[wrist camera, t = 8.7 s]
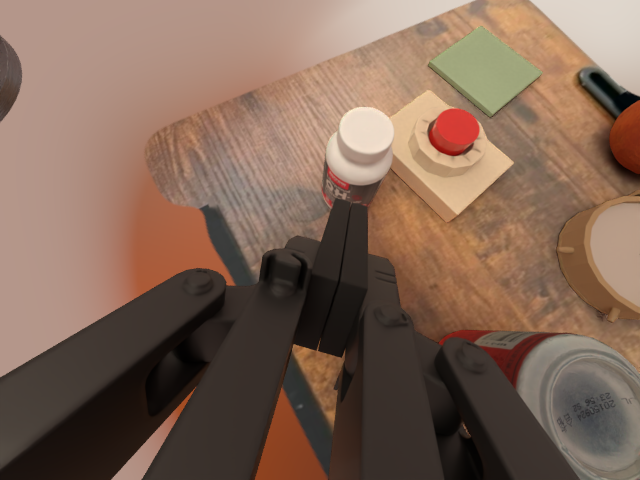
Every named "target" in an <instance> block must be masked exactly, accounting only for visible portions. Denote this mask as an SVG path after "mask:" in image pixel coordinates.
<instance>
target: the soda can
mask: <svg viewBox="0 0 640 480" xmlns="http://www.w3.org/2000/svg"><path fill="white" fill-rule="evenodd" d="M451 337H459V338H463V339H467V340H469V341H471V342H473V343H475V344H477V345H478V346H479V347H481V348H482V349H483V350H485V351H486V352H487V353H488V354H489V355H490V356H491V357H492V358H493V360H494V361H495V362H496V363H497V365H498V366H499V367H500V369H501V370H502V372H503V373H504V374H505V376H506V377H507V379H508V380H509V381H510V383H511V384H512V386H513V387H514V388H515V390H516V391H517V392H518V394H519V395H520V397H521V398H522V399H523V401H524V402H525V404H526V405H527V406H528V408H529V409H530V410H531V412H532V413H533V415H534V416H535V417H536V419H537V420H538V422H539V423H540V424H541V426H542V427H543V429H544V430H545V431H546V433H547V434H548V435H549V437H550V438H551V440H552V441H553V442H554V444H555V445H556V447H557V448H558V449H559V451H560V452H561V453H562V455H563V456H564V458H565V459H566V460H567V462H568V463H569V465H570V466H571V467H572V469H573V470H574V472H575V473H576V474H577V476H578V477H579V478H580V480H640V374H639V373H638V371H637V370H636V369H635V367H634V366H633V365H632V364H631V363H630V362H629V361H628V360H627V359H625V358H624V357H623V356H622V355H621V354H619V353H618V352H617V351H615V350H614V349H612V348H611V347H609V346H608V345H606V344H604V343H602V342H600V341H598V340H596V339H594V338H591V337H587V336H583V335H578V334H571V333H549V332H519V331H480V330H460V331H457V332H453V333H451V334H449V335H447V336H445V337H444V338H443V339H442V340H441V341H440V342H439V343H438V344H440V345H443V343H444V341H446V340H447V339H448V338H451Z"/></svg>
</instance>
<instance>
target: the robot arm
mask: <svg viewBox="0 0 640 480" xmlns="http://www.w3.org/2000/svg"><path fill="white" fill-rule="evenodd" d="M350 204H351V202H349V201H346V200H342V199H338V198H335V200H334V204H333V207H332V210H331V213H330V216H329V219H328V222H327V225H326V228H325V231H324V234H323V237H322V240H321V242H320V241H316V240H313V239H309V238H305V237H301V236H298V235H297V236H295V237H293V238H291V239H290V240H289V241H288V242H287V244H286V246H285V248H284V249H273V250H270V251H267V252H266V253H265V254H264V255H263V256H262V263H261V270H260V277H259V282H258V283H257V284H255V285H251V286H226V281H225V279H224V277H223V276H222V275H221V274H219V273H218V272H216V271H213V270H210V269H202V268H196V269H190V270H186V271H183V272H181V273H179V274H176V275H175V276H173V277H171V278H170V279H168V280H166V281H165V282H163V283H161V284H159V285H158V286H156V287H154V288H152V289H151V290H149V291H147V292H146V293H144V294H142V295H141V296H139V297H137V298H135V299H134V300H132V301H130V302H129V303H127V304H125V305H124V306H122V307H120V308H118V309H117V310H115V311H113V312H111V313H110V314H108V315H107V316H105V317H103V318H101V319H99V320H98V321H96V322H95V323H93V324H91V325H89V326H88V327H86V328H84V329H82V330H81V331H79V332H77V333H76V334H74V335H72V336H70V337H69V338H67V339H65V340H64V341H62V342H60V343H58V344H57V345H55V346H53V347H52V348H50V349H48V350H47V351H45V352H43V353H41V354H40V355H38V356H36V357H35V358H33V359H31V360H29V361H28V362H26V363H25V364H23V365H21V366H19V367H18V368H16V369H14V370H12V371H11V372H9V373H7V374H6V375H4V376H2V377H0V480H111V479H112V478H113V477H114V476H115V475H116V474H117V472H118V471H119V470H120V469H121V468H122V467H123V466H124V465H125V464H126V462H127V461H128V460H129V459H130V458H131V457H132V456H133V455H134V454H135V453H136V452H137V450H138V449H139V448H140V447H141V446H142V445H143V444H144V443H145V442H146V441H147V439H149V437H150V436H151V435H152V434H153V433H154V432H155V431H156V430H157V429H158V427H160V425H161V424H162V423H163V422H164V421H165V420H166V419H167V418H168V417H169V416H170V415H171V413H172V412H173V411H174V410H175V409H176V408H177V407H178V406H179V405H180V404H181V402H182V401H183V400H184V399H185V398H186V397H187V396H188V395H189V394H190V393H191V392H192V391H193V389H194V388H195V387H196V386H197V387H196V389H195V390H194V392H193V394H192V395H191V398H190V399H189V400H188V402H187V404H186V406H185V408H184V409H183V411H182V412H181V414H180V416H179V417H178V419H177V421H176V423H175V424H174V426H173V428H172V429H171V431H170V433H169V434H168V436H167V438H166V439H165V442H164V443H163V445H162V446H161V448H160V450H159V451H158V453H157V455H156V456H155V458H154V460H153V462H152V463H151V465H150V467H149V468H148V470H147V472H146V473H145V475H144V477H143V479H142V480H255V476H256V473H257V470H258V466H259V463H260V459H261V456H262V452H263V449H264V446H265V442H266V439H267V435H268V432H269V428H270V425H271V422H272V418H273V415H274V411H275V408H276V404H277V401H278V398H279V394H280V391H281V387H282V384H283V380H284V377H285V374H286V370H287V367H288V363H289V360H290V356H291V352H292V348H293V345H294V344H295V345H299V346H302V347H306V348H309V349H313V350H316V351H317V347H318V344H319V341H320V344H319V349H318V351H320V352H323V353H327V354H330V355H334V356H337V357H341V358H342V356H343V353H344V351H345V361H344V363H343V366H342V368H341V371H340V373H339V376H338V378H337V381H336V384H335V386H334V390H337V389H338V395H337V404H336V414H335V423H334V432H333V442H332V451H331V461H330V470H329V479H328V480H580V478H579V477H578V476H577V474H576V473H575V472H574V470H573V469H572V467H571V466H570V465H569V463H568V462H567V460H566V459H565V458H564V456H563V455H562V453H561V452H560V451H559V449H558V448H557V447H556V445H555V444H554V442H553V441H552V440H551V438H550V437H549V435H548V434H547V433H546V431H545V430H544V429H543V427H542V426H541V424H540V423H539V422H538V420H537V419H536V417H535V416H534V415H533V413H532V412H531V410H530V409H529V408H528V406H527V405H526V404H525V402H524V401H523V399H522V398H521V397H520V395H519V394H518V392H517V391H516V390H515V388H514V387H513V386H512V384H511V383H510V381H509V380H508V379H507V377H506V376H505V374H504V373H503V372H502V370H501V369H500V367H499V366H498V365H497V363H496V362H495V361H494V360H493V358H492V357H491V356H490V355H489V354H488V353H487V352H486V351H485V350H483V349H482V348H481V347H479V346H478V345H477V344H475V343H473V342H471V341H469V340H467V339H463V338H459V337H451V338H448V339H447V340H446V341H444V343H443V345H440V344H438V343H437V342H435V341H433V340H431V339H429V338H427V337H425V336H423V335H422V334H420V333H418V332H417V331H416V330H415V329H414V326H413V322H412V320H411V318H410V316H409V315H408V314H407V313H406V312H405V310H403V309H402V308H401V305H400V299H399V293H398V287H397V284H396V283H397V281H396V277H395V276H396V275H395V269H394V267H393V265H392V264H391V263H390V261H389V260H388V259H386V258H383V257H379V256H375V255H372V254H368V207H367V206H365V205H361V204H357V203H353V202H352V204H351V207H350ZM349 210H350V211H349ZM320 338H321V339H320ZM345 348H346V350H345ZM463 424H465V426H466V428H467V430H468V432H469V434H470V436H471V437H470V436H469V435H468V434H467V432H466V431H465V429H464V427H463Z"/></svg>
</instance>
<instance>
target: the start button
mask: <svg viewBox="0 0 640 480" xmlns="http://www.w3.org/2000/svg"><path fill="white" fill-rule="evenodd" d="M479 132H480V128H479V124H478V122H477V120H476V119H475V117H474V116H473V115H471V114H470V113H469V112H467V111H465V110H462V109H457V108H451V109H447V110H445V111H443V112H442V113H440V115H439V116H438V117H437V119H436V121H435V122H434V124H433V125H432V127H431V129H430V131H429V140H430V143H431V144H432V146H433V147H434V148H435V149H437V150H438V151H439V152H440V153H443V154H446V155H449V156H457V155H460V154H462V153H464V152H465V151H466V150H467V149H468V148H469V147H470V146H471V145H472V143H473V142H474V141H475V140H476V139H477V138H478V136H479Z"/></svg>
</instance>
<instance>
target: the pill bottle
mask: <svg viewBox="0 0 640 480" xmlns="http://www.w3.org/2000/svg"><path fill="white" fill-rule="evenodd" d="M393 139H394V127H393V124H392V122H391V120H390V119H389V118H388V116H387V115H385V114H384V113H383V112H381V111H379V110H377V109H375V108H371V107H358V108H354V109H352V110H350V111H348V112H347V113H346V114H345V115H344V116H343V117H342V119H341V121H340V124H339V128H338V130H337V131H336V132H335V133H334V134H333V135H332V136H331V138H330V140H329V142H328V144H327V148H326V154H325V163H324V171H323V180H322V196H323V199H324V201H325V203H326V204H327V205H328V206H329V207H330V208H331V209H332V207H333V204H334V200H335V198H338V199H342V200H346V201H349V202H351V204H352V202H353V203H357V204H361V205H365V206H367V207H368V206H369V205H370V203H371V202H372V200H373V198H374V196H375V195H376V193H377V191H378V189H379V187H380V185H381V183H382V182H383V180H384V178H385V176H386V174H387V173H388V171H389V169H390V166H391V163H392V159H393V151H392V147H391V144H392V142H393ZM351 204H350V207H351ZM349 211H350V210H349Z"/></svg>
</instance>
